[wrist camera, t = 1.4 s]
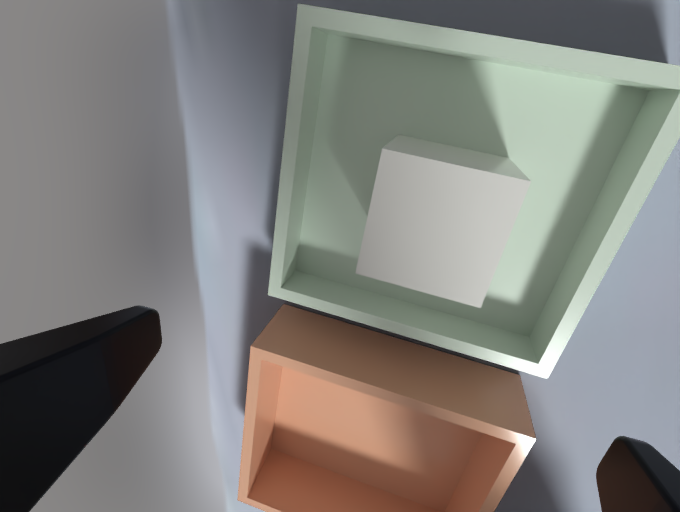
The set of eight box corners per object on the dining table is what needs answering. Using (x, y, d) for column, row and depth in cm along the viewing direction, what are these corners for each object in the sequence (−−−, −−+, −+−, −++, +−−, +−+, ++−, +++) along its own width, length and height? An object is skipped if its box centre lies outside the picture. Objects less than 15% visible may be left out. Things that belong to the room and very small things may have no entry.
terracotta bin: (519, 375, 19) (536, 438, 16) (450, 514, 24) (450, 585, 21) (283, 303, 21) (250, 345, 18) (265, 445, 26) (237, 500, 23)
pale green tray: (670, 75, 13) (715, 71, 11) (535, 344, 18) (547, 379, 16) (319, 16, 15) (297, 3, 13) (287, 273, 20) (267, 295, 18)
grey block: (509, 157, 15) (531, 181, 11) (472, 257, 17) (480, 308, 13) (398, 134, 16) (382, 148, 12) (376, 232, 18) (355, 273, 14)
